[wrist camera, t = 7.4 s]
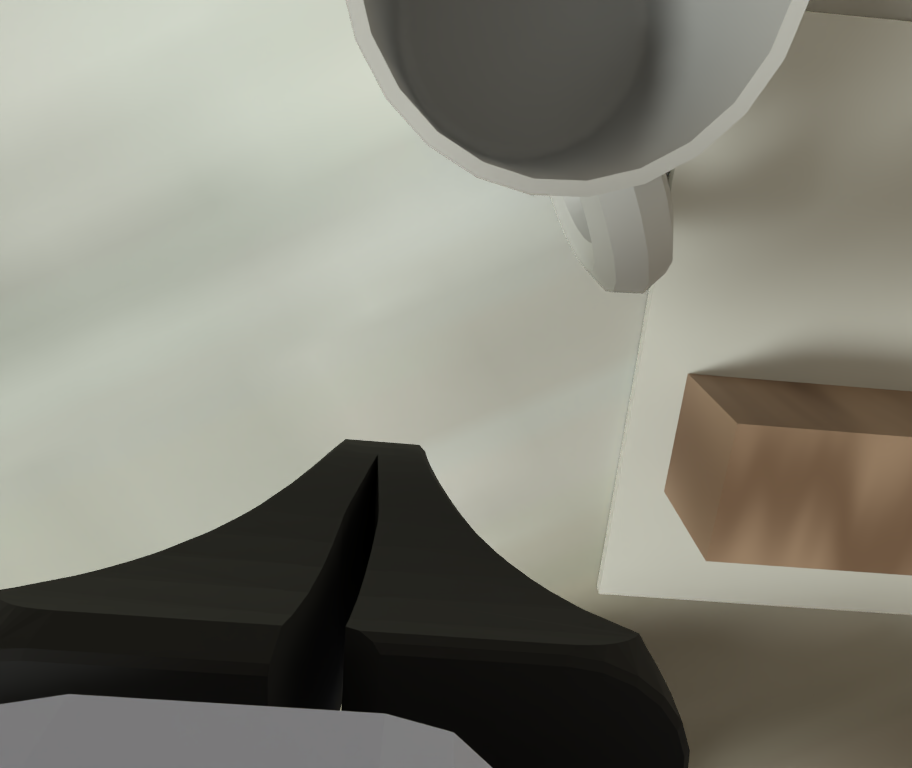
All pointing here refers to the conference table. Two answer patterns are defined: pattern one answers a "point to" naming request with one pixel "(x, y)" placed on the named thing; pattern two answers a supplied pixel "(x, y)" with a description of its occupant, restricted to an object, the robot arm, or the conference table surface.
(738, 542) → the walnut block
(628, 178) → the cup
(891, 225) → the mat
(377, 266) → the conference table surface
